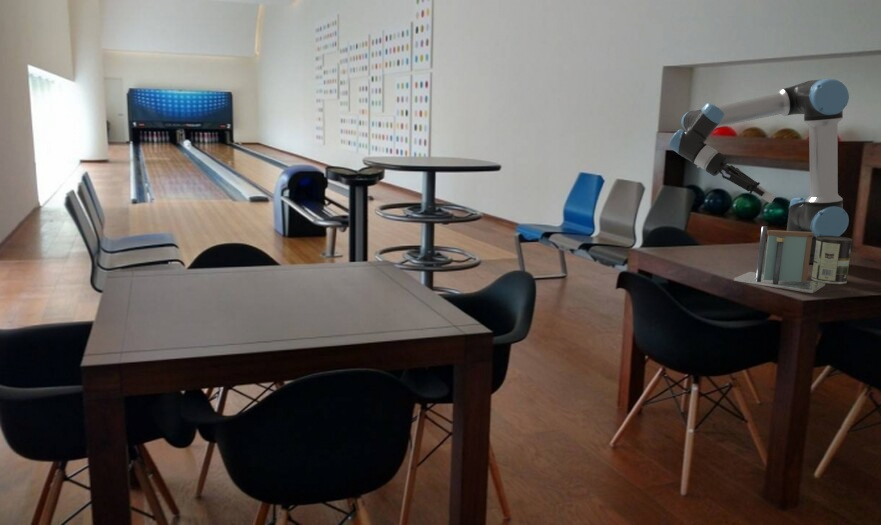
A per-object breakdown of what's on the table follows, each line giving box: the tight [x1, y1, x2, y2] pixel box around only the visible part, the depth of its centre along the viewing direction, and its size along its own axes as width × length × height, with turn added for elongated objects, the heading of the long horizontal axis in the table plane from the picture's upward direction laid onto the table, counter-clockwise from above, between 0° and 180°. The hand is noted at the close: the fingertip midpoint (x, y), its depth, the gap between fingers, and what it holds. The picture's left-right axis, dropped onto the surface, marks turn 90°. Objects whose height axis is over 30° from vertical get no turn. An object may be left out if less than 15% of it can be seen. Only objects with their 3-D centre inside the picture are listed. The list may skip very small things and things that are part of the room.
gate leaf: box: [762, 229, 814, 282], centre depth 228 cm, size 13×2×15 cm, turn 83°
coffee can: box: [811, 235, 854, 285], centre depth 237 cm, size 10×10×14 cm
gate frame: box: [733, 226, 826, 294], centre depth 231 cm, size 15×23×18 cm, turn 50°
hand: (773, 199), depth 242 cm, fingers closed
